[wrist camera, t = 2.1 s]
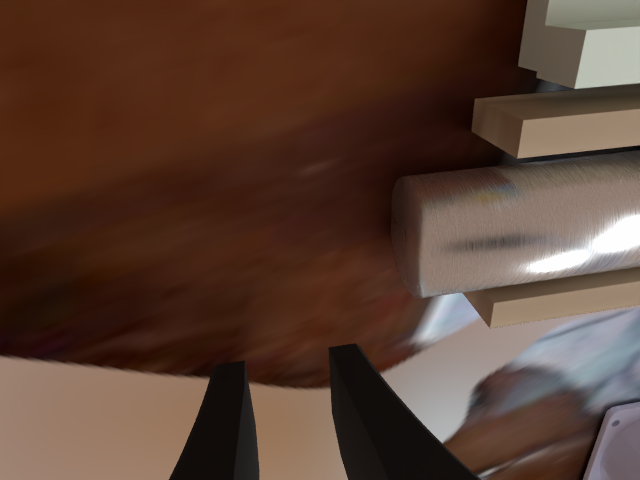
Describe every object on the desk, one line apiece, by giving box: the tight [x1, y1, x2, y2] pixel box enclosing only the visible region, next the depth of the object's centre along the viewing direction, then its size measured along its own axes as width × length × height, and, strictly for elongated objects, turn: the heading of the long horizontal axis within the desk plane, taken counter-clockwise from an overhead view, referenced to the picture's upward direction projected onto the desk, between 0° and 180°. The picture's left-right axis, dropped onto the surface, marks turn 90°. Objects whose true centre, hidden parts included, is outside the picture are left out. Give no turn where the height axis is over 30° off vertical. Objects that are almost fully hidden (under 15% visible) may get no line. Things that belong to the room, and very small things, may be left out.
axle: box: [391, 150, 640, 299], centre depth 18 cm, size 14×4×4 cm, turn 93°
